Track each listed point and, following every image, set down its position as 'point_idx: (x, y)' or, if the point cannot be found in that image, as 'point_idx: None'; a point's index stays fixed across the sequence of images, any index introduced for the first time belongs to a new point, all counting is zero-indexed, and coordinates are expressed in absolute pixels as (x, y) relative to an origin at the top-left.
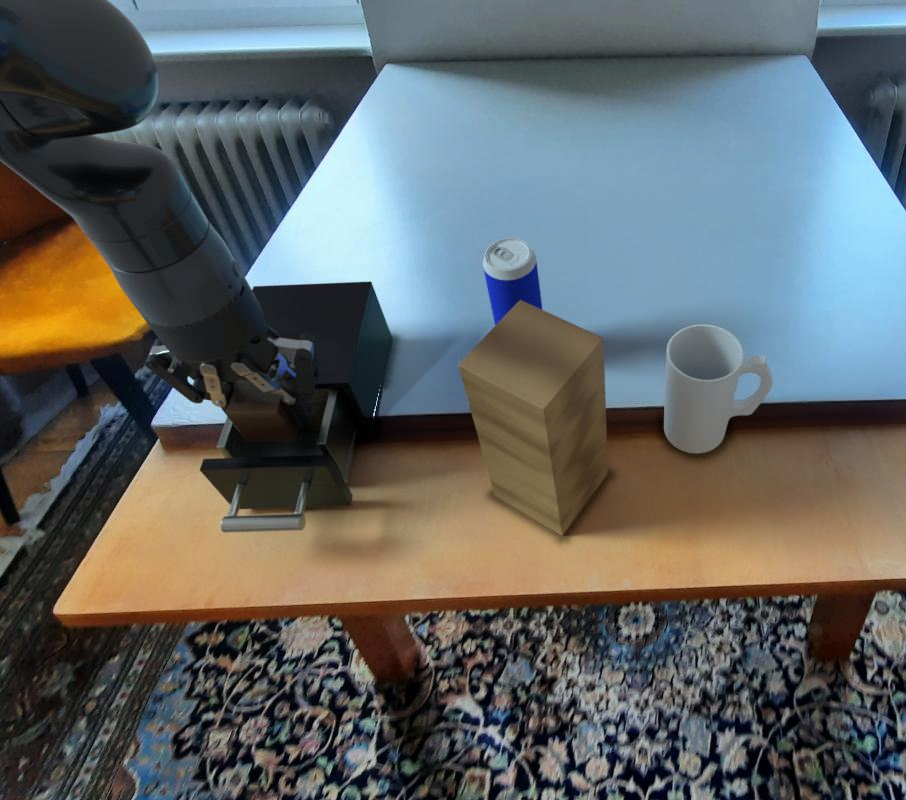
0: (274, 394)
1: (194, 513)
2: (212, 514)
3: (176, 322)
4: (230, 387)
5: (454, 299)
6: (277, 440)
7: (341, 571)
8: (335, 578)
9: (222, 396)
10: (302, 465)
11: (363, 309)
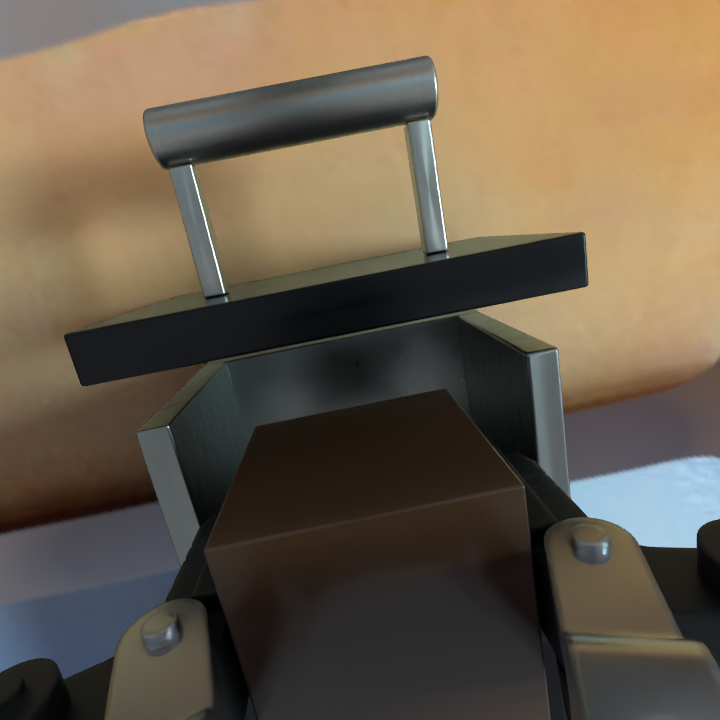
0: (201, 680)
1: (584, 221)
2: (538, 226)
3: None
4: (561, 649)
5: None
6: (322, 413)
7: (132, 118)
8: (138, 94)
9: (573, 601)
10: (162, 320)
11: None
